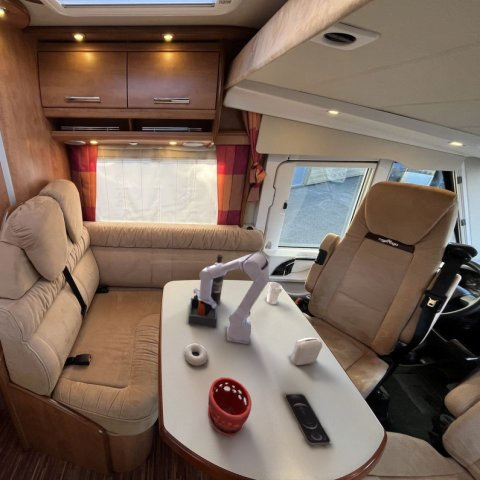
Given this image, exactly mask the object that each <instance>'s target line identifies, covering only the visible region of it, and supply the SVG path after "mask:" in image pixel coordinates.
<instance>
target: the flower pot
mask: <svg viewBox="0 0 480 480" xmlns="http://www.w3.org/2000/svg"><path fill="white" fill-rule="evenodd" d="M227 387H228V388H229V389H228V390H227V389H225V388H227ZM207 401H208V409H207V416H208V420H209V422H210V424H211V425H212V427H213V428H214V429H215V430H216V432H218V433H219V434H221V435H224V436H227V437H233V436H236V435H238V434H239V433H240V432H241V431H242V430H243V428H244V425H245V424H246V422H247V420H248V418H249V416H250V414H251V411H252V404H253V403H252V398H251V394H250V393H249V391H248V390H247V388H246V387H245V386H244V385H243V384H242V383H241V382H239V381H238V380H236V379H234V378H231V377H227V376H226V377H225V376H224V377H219V378H216V379H215V380H213V382H212V383H211V385H210V388H209V392H208V397H207Z"/></svg>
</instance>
